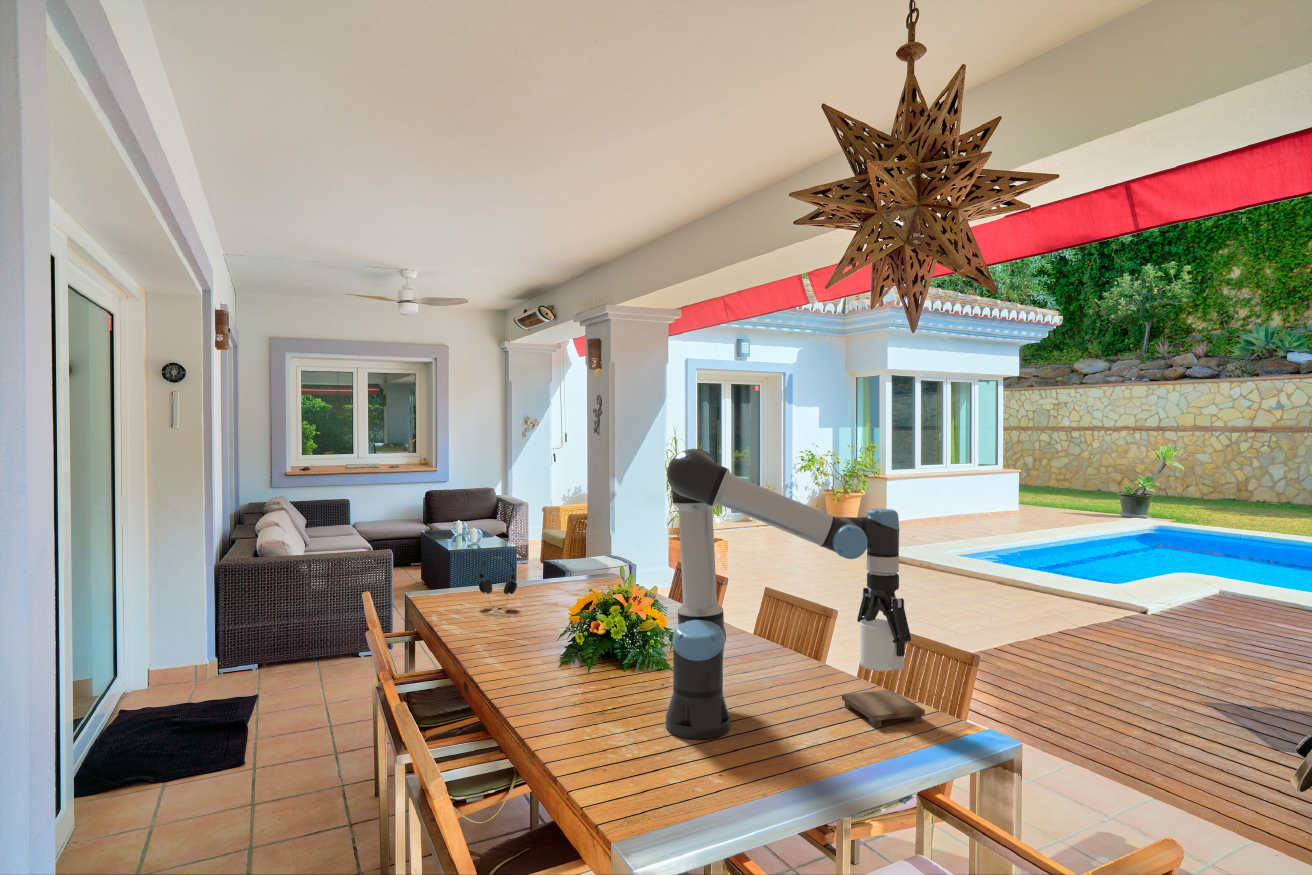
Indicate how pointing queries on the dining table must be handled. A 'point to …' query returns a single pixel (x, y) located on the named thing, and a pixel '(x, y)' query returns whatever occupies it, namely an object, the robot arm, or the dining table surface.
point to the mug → (876, 645)
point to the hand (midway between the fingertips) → (882, 660)
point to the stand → (883, 706)
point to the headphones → (487, 585)
